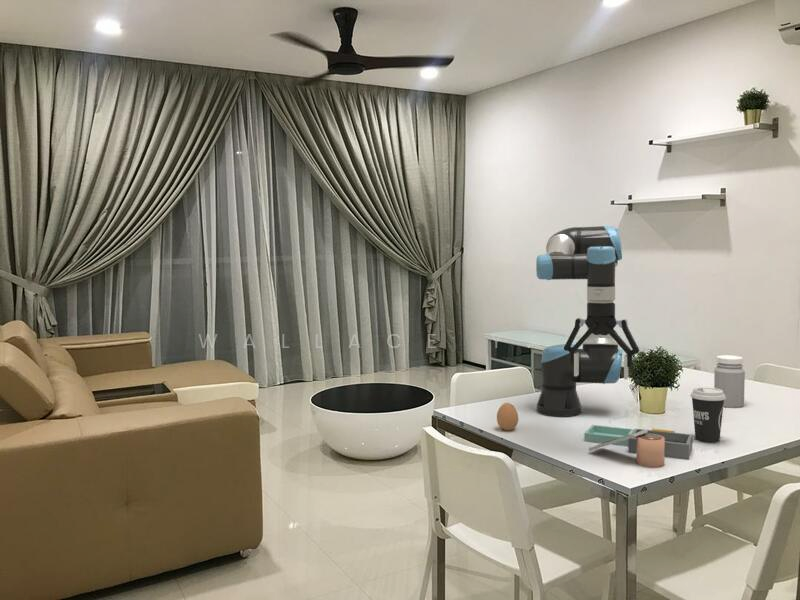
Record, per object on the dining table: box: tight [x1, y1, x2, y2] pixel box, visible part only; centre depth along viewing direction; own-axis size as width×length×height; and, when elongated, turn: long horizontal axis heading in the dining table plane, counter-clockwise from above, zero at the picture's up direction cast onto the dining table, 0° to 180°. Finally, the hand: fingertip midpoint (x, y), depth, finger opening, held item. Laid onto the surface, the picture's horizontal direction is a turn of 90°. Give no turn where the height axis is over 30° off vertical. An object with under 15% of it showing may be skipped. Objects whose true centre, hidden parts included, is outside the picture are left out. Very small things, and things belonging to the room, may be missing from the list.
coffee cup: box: [689, 386, 726, 444], centre depth 196 cm, size 10×10×15 cm
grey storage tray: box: [628, 427, 694, 460], centre depth 188 cm, size 16×11×5 cm
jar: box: [713, 354, 746, 409], centre depth 236 cm, size 10×10×18 cm
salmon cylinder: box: [635, 434, 665, 468], centre depth 177 cm, size 7×7×7 cm
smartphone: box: [588, 429, 648, 452], centre depth 183 cm, size 7×16×1 cm, turn 40°
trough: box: [583, 424, 635, 448], centre depth 199 cm, size 13×11×2 cm
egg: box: [496, 402, 519, 431], centre depth 211 cm, size 7×7×9 cm
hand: (600, 377), depth 187 cm, fingers open, 13 cm apart
